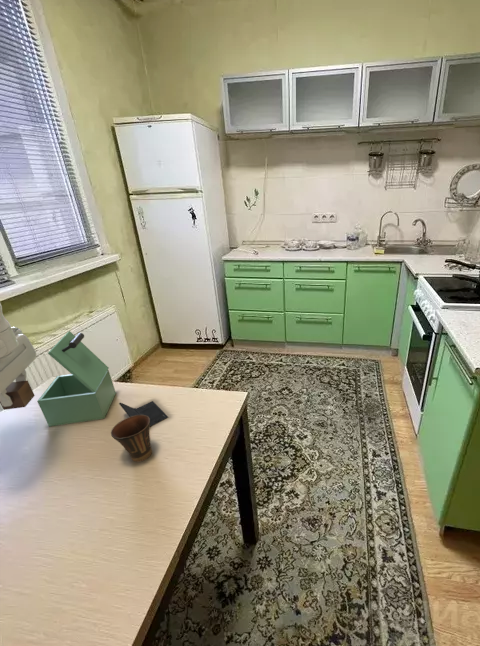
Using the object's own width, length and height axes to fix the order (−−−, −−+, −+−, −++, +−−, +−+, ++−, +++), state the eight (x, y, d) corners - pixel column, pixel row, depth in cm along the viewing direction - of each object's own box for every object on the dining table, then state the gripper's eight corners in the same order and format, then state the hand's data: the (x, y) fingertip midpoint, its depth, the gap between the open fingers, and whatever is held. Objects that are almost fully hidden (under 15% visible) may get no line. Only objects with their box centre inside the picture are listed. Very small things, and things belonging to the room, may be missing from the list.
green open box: (50, 428, 92) (37, 401, 87) (67, 401, 103) (57, 375, 98) (105, 420, 94) (95, 393, 90) (116, 395, 105) (108, 369, 101)
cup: (136, 438, 87) (126, 409, 83) (165, 444, 85) (157, 414, 81) (112, 464, 80) (100, 433, 75) (143, 471, 78) (133, 440, 73)
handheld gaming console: (174, 410, 95) (146, 398, 87) (161, 434, 92) (132, 423, 85) (153, 401, 102) (126, 389, 94) (140, 422, 99) (112, 412, 92)
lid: (47, 353, 82) (63, 343, 82) (67, 332, 93) (81, 323, 93) (93, 393, 90) (108, 383, 89) (106, 369, 101) (120, 360, 100)
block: (3, 410, 73) (-5, 394, 71) (14, 398, 76) (6, 382, 75) (25, 407, 73) (17, 391, 71) (34, 395, 77) (27, 380, 75)
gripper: (2, 325, 77) (24, 374, 83) (-65, 370, 59) (-29, 429, 65) (31, 322, 78) (51, 370, 84) (-25, 366, 60) (6, 424, 66)
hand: (16, 396), depth 74 cm, fingers closed on block, 4 cm apart
